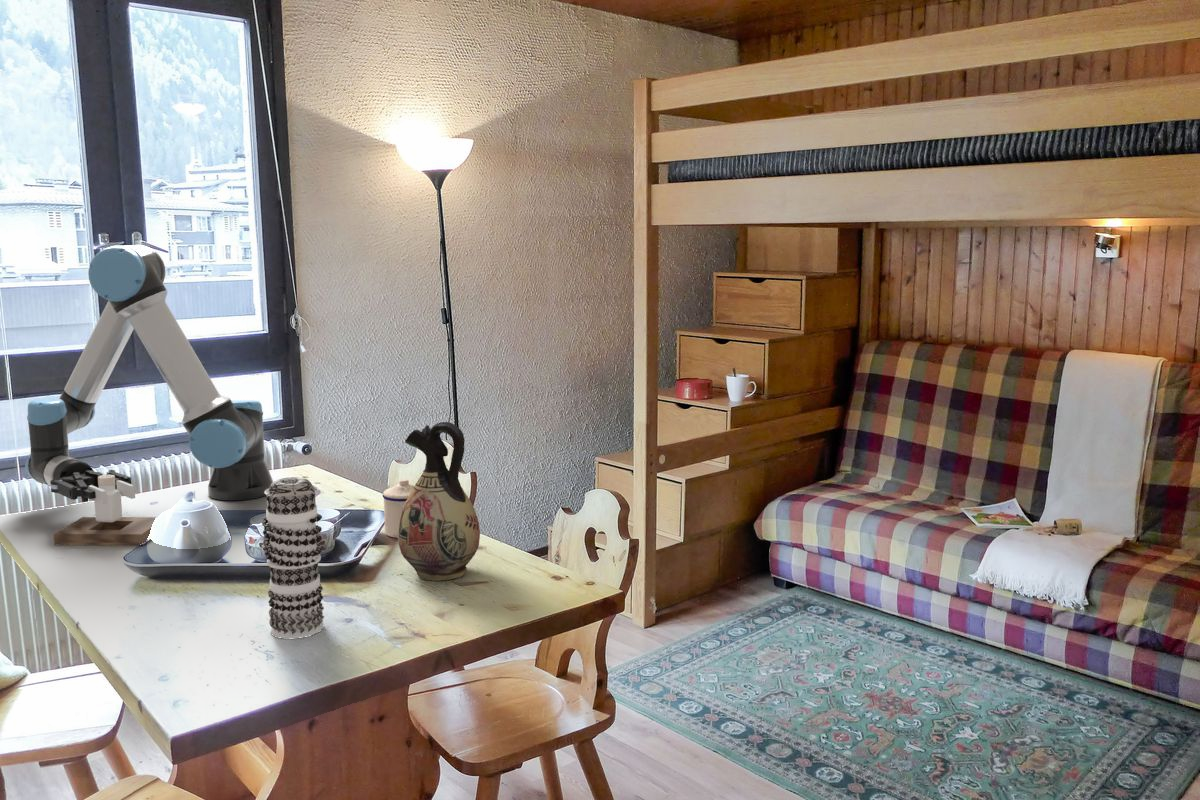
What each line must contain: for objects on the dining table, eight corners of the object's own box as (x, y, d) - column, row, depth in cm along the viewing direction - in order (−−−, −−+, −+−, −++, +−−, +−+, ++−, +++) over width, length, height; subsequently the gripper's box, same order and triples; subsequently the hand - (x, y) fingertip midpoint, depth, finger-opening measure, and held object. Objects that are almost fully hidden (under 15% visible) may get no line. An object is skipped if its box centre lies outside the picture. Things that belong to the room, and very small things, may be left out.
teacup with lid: (435, 532, 213) (433, 480, 211) (399, 541, 207) (397, 487, 205) (403, 520, 222) (402, 470, 220) (368, 529, 215) (366, 477, 213)
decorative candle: (304, 613, 169) (298, 470, 164) (337, 627, 163) (331, 480, 158) (256, 630, 162) (248, 481, 157) (289, 645, 156) (281, 491, 151)
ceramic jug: (381, 579, 185) (376, 422, 180) (431, 555, 199) (428, 408, 193) (455, 595, 177) (452, 431, 172) (503, 569, 191) (501, 417, 186)
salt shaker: (123, 517, 210) (120, 474, 208) (112, 523, 206) (109, 479, 205) (105, 517, 210) (102, 473, 209) (94, 522, 207) (91, 478, 205)
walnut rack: (167, 528, 215) (166, 517, 215) (142, 545, 203) (141, 534, 203) (83, 527, 215) (83, 516, 214) (54, 545, 203) (53, 533, 203)
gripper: (112, 484, 226) (162, 503, 211) (27, 500, 212) (74, 521, 198) (110, 452, 225) (160, 469, 210) (24, 466, 211) (71, 485, 196)
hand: (119, 494), depth 204 cm, fingers closed on salt shaker, 5 cm apart
